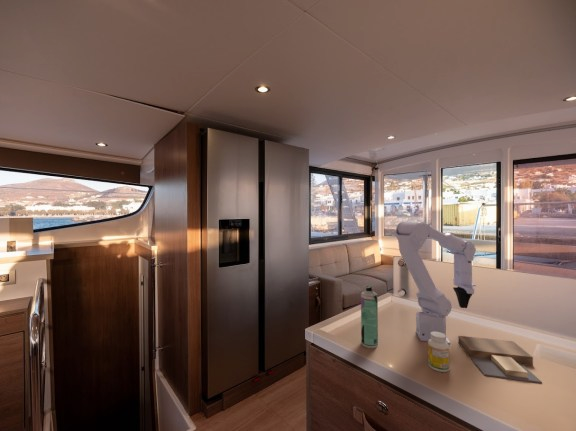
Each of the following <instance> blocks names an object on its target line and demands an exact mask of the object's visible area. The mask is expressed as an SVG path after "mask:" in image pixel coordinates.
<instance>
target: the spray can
mask: <svg viewBox="0 0 576 431" xmlns="http://www.w3.org/2000/svg"><path fill="white" fill-rule="evenodd" d="M365 288H366V289H364V291H362V292H361V293H360V320H361V321H360V325H361V327H360V331H361V338H360V340H361V342H360V343H361V345H362V346H363V348H364V347H365V348H367V349H376V348H378V346H379V327H378V326H379V324H378V322H379V320H378V315H379V313H378V311H379V310H378V309H379V308H378V293H377V292H375V291H374V290H373V289H372V288H373V287H372V286H371V285H367V286H366V287H365Z"/></svg>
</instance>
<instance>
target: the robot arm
mask: <svg viewBox="0 0 576 431" xmlns="http://www.w3.org/2000/svg"><path fill="white" fill-rule="evenodd" d="M394 231H395V232H394V235H395V237H396V239H397V240H398V241H397V242H398V248H399V253H400V255H401V258H402V259H403V261H404V263H405V265H406V267H407V269H408V271H409V273H410V276H411V277H412V279H413V281H414V283H415V285H416V287H417V289H418V290H417V292H416V293H415V294H416V297H417V303H418V306H419V307H420V309H421V311H416V314H415V333H416V334H417V336H418V338H419V341H424V342H428V341H429V339H431V337H430V335H431V332H440V333H443V334H445V335H446V342H447V343H448V345H449V344H451V341H450V340H449V338H448V337H447V318H446V317H448V315H449V314H450V313H451V312H452V302H451V301H450V299H449V298H447V296H445V293H444V292H442V291H441V290H440V289H438V287H436V285H435V284H434V283H435V282H434V281H433V279H432V277H431V275H430V273H429V270H428V269H427V267H426V264H425V263H424V261H423V258H422V256H421V255H420V253H419V250H421V249H422V247H423V246H424V244H425V242H426V241H427V239H431V240H434V241H436V242H438V245H439V246H440V247H441V248H443V249H446V250H448V251H450V253H451V254H452V255H453V280H452V281H453V285H454V287H453V288H452V289H453V291H454V292H455V296H456V298H457V302H458V307H459V308H462V309H467V308H468V306H469V303H470V299H471V298H472V295H475V288H474V287H476V286H477V284H476V283H473V261H474V258H475V254H476V250H477V248H476V247H475V244H474V243H472V241H469V240H464V239H463V238H462V237H459V236H456V235H454V234H455V233H453V232H450V231H449V232H445V233H443V232H442V231H440V230H438V229H436V228H434V227H433V226H431V224H429V223H426V222H424V221H419V222H418V221H416V222H415V221H414V222H413V221H412V222H411V221H401V222H399V223H398V224H397V226H396V228H395V230H394Z"/></svg>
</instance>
